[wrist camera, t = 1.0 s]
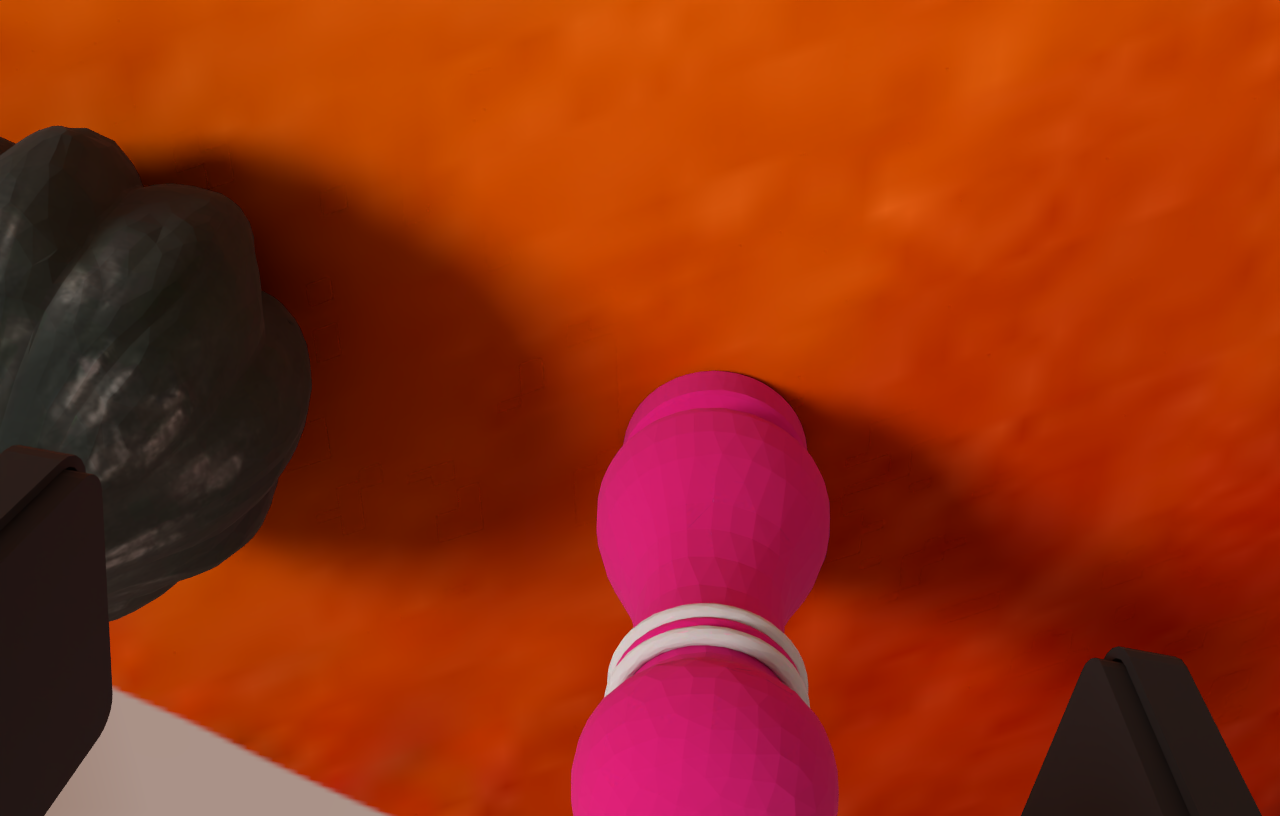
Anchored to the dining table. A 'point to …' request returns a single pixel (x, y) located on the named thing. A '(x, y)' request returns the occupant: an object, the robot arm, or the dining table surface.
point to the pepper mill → (709, 611)
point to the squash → (144, 355)
